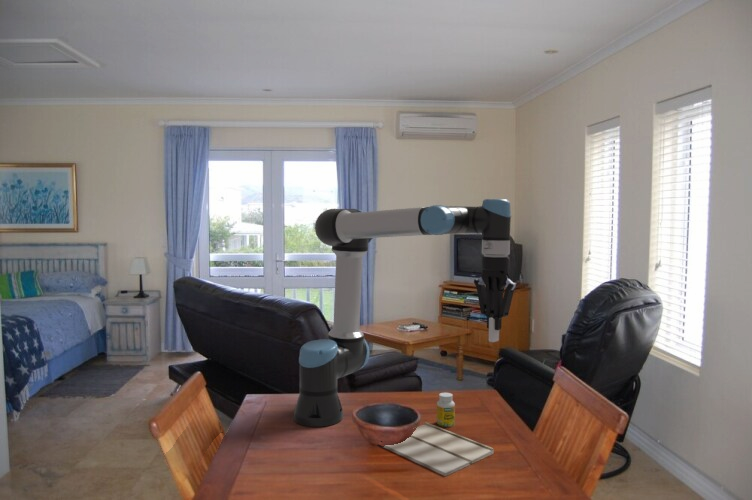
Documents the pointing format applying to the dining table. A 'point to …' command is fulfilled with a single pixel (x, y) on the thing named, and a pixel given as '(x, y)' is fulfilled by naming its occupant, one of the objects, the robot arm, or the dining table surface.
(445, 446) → the plank
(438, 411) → the supplement bottle
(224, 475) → the dining table surface
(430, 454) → the laid board
